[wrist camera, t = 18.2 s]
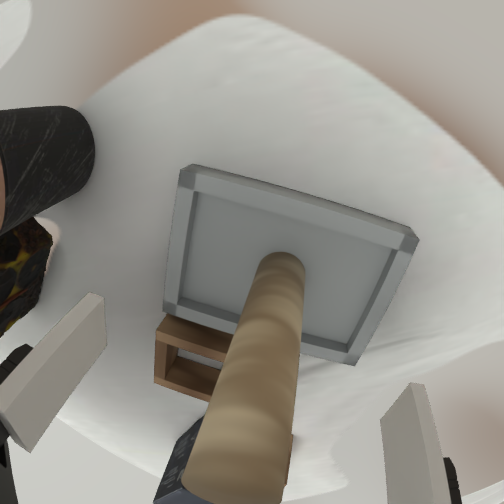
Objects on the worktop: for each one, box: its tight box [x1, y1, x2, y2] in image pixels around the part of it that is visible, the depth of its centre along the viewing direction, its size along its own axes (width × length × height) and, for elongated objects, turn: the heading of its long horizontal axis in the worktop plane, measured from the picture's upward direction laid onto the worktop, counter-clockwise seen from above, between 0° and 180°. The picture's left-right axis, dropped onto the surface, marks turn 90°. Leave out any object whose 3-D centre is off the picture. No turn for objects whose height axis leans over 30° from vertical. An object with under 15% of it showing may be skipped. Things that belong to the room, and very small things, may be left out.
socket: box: [154, 313, 234, 402], centre depth 24 cm, size 6×6×3 cm
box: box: [153, 417, 214, 504], centre depth 27 cm, size 9×6×10 cm, turn 149°
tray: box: [163, 164, 419, 366], centre depth 20 cm, size 14×10×2 cm
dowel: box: [181, 252, 305, 504], centre depth 14 cm, size 3×3×14 cm
